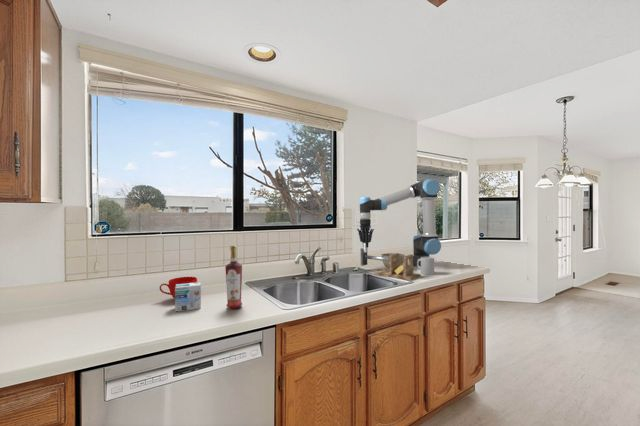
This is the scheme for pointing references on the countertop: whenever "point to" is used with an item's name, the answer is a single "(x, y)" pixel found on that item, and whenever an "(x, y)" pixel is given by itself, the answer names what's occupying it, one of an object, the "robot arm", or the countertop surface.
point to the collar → (399, 270)
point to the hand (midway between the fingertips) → (365, 252)
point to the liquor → (233, 280)
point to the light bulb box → (187, 296)
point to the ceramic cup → (177, 281)
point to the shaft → (371, 257)
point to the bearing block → (393, 266)
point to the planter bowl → (394, 257)
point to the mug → (426, 265)
